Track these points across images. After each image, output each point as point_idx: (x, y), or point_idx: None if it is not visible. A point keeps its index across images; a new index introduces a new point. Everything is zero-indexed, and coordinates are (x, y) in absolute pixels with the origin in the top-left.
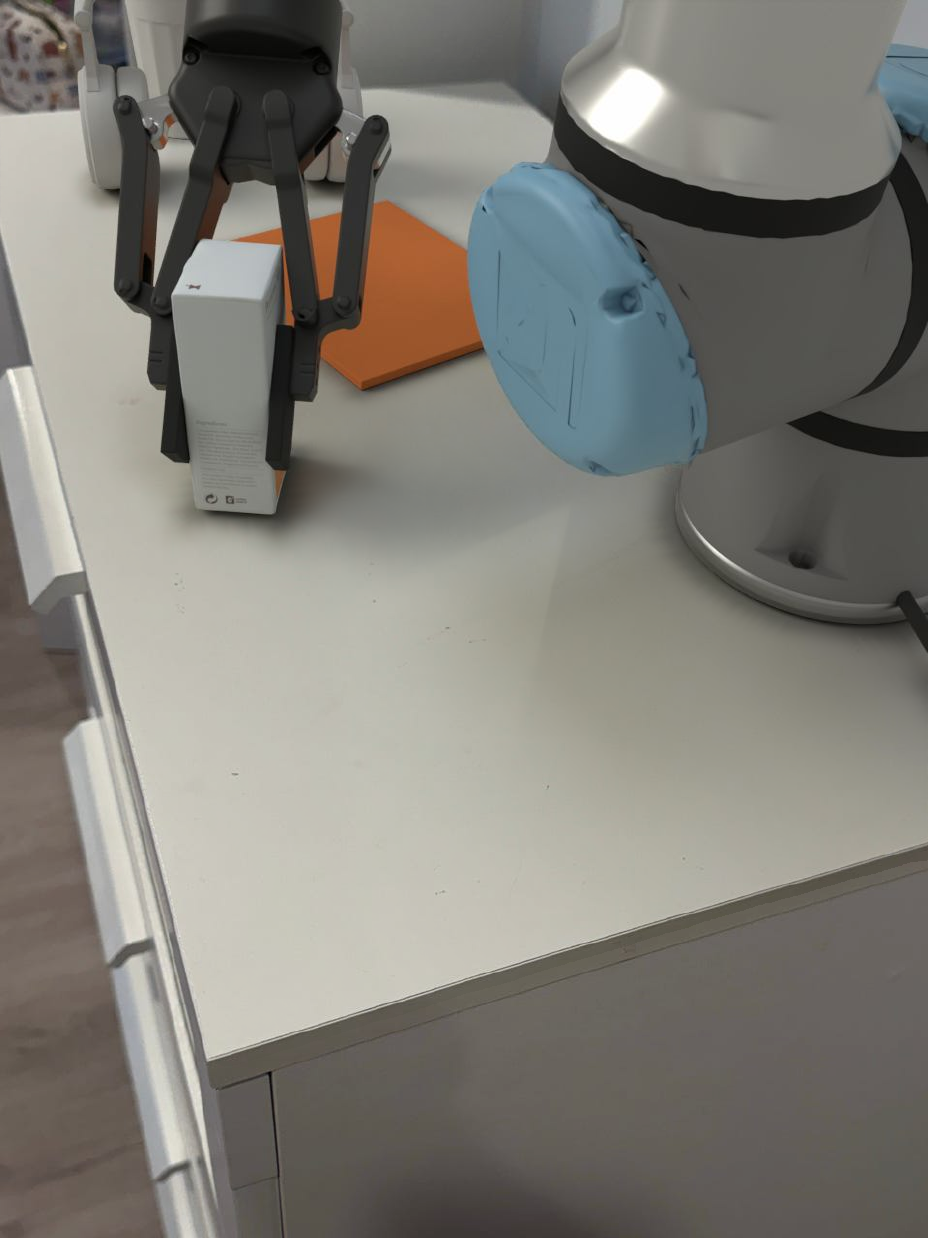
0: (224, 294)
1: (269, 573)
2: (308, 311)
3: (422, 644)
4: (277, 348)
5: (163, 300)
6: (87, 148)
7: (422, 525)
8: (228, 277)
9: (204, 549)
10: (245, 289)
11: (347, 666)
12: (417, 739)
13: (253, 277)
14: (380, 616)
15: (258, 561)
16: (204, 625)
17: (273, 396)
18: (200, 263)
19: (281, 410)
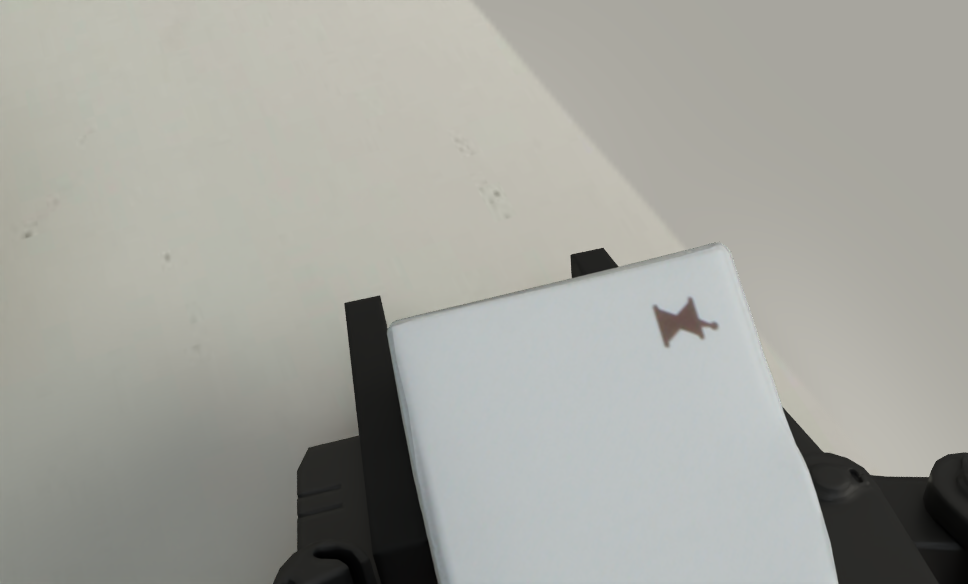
0: (540, 298)
1: (364, 265)
2: (300, 574)
3: (63, 186)
4: (405, 477)
5: (828, 477)
6: None
7: (127, 493)
8: (596, 451)
9: (493, 286)
10: (482, 373)
11: (172, 109)
12: (35, 12)
13: (501, 500)
14: (148, 226)
15: (393, 287)
16: (414, 125)
17: (388, 383)
18: (765, 530)
19: (361, 368)
